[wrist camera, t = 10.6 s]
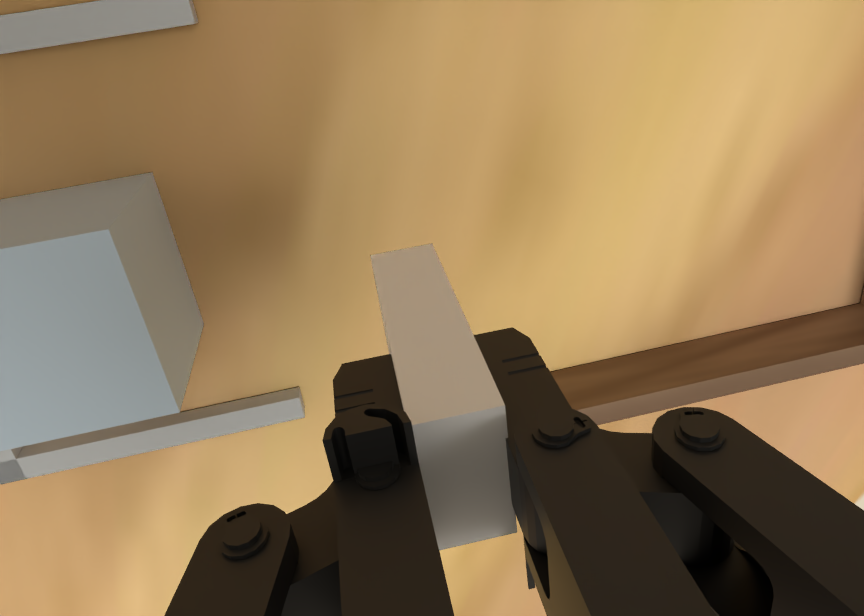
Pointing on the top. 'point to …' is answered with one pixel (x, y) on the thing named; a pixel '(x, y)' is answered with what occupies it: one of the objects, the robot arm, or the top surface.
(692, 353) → the brown flat u-shaped frame
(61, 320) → the cube
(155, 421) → the corral
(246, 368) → the top surface
